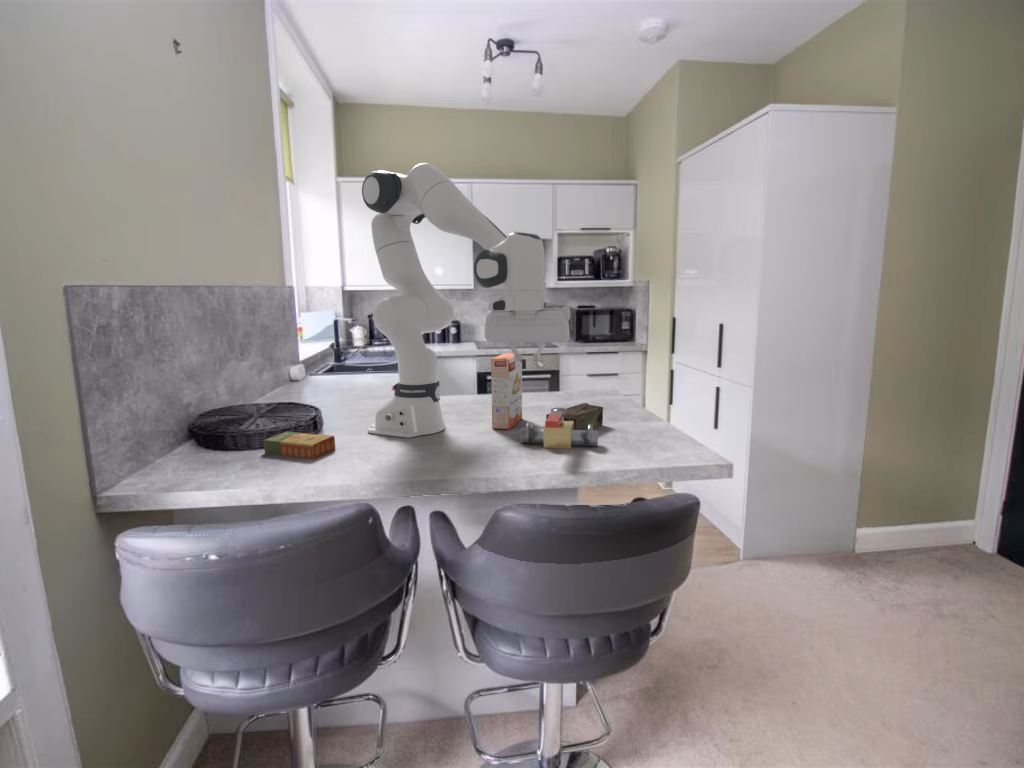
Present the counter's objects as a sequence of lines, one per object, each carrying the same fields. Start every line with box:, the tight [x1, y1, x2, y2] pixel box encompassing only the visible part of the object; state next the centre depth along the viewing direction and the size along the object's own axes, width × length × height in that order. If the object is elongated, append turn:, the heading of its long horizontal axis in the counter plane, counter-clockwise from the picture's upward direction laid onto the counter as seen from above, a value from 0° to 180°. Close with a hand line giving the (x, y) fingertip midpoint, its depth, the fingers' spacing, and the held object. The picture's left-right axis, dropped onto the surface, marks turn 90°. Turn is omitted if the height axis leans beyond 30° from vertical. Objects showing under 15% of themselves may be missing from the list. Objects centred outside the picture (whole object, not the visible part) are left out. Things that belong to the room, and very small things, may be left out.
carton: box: [263, 430, 336, 461], centre depth 133 cm, size 8×16×4 cm, turn 69°
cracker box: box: [490, 352, 523, 431], centre depth 154 cm, size 14×6×21 cm, turn 164°
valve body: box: [519, 416, 599, 450], centre depth 134 cm, size 20×7×8 cm, turn 77°
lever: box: [544, 407, 567, 428], centre depth 128 cm, size 14×4×2 cm, turn 167°
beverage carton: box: [545, 402, 604, 430], centre depth 147 cm, size 8×19×7 cm, turn 140°
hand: (527, 360), depth 124 cm, fingers open, 3 cm apart
